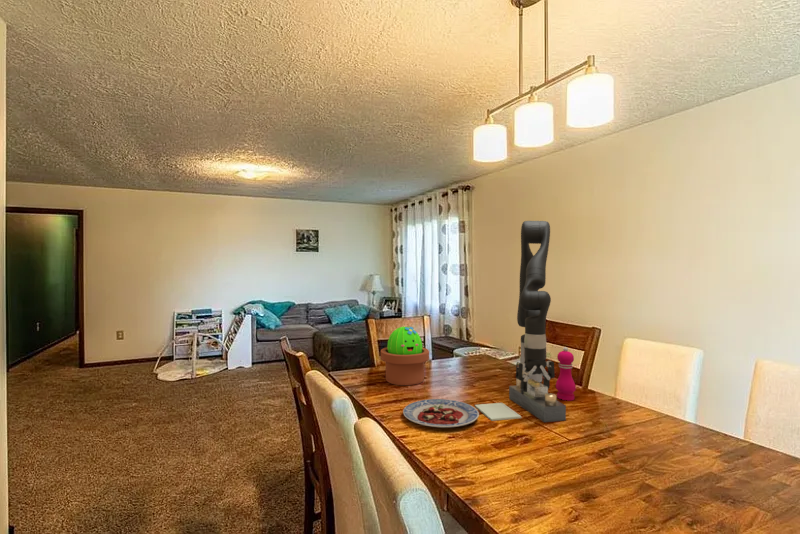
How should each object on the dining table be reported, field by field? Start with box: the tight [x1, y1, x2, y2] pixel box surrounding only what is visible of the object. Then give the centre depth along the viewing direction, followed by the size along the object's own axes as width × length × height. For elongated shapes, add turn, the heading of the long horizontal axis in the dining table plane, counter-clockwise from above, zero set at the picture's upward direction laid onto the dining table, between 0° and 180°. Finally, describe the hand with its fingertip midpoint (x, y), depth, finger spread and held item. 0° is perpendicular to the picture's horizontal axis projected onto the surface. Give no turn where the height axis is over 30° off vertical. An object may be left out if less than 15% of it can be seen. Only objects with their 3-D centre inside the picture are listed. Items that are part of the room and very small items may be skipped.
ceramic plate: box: [402, 398, 480, 428], centre depth 135 cm, size 26×26×3 cm
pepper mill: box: [555, 346, 577, 402], centre depth 155 cm, size 7×7×20 cm
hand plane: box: [508, 372, 567, 423], centre depth 143 cm, size 24×8×11 cm, turn 12°
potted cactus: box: [380, 325, 430, 386], centre depth 180 cm, size 22×22×25 cm
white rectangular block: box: [523, 379, 549, 398], centre depth 143 cm, size 8×5×5 cm, turn 12°
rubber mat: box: [474, 402, 522, 421], centre depth 140 cm, size 14×11×1 cm
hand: (535, 390), depth 143 cm, fingers open, 8 cm apart
